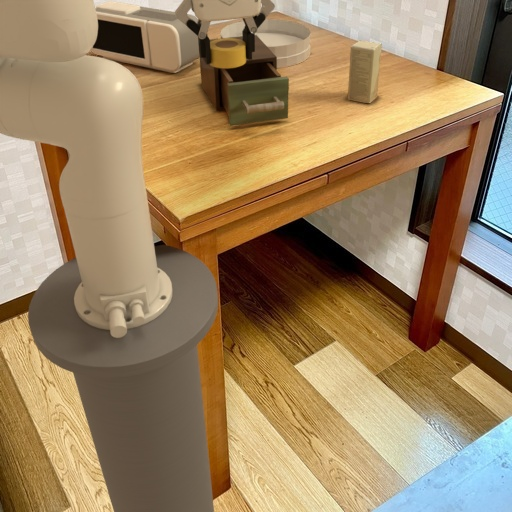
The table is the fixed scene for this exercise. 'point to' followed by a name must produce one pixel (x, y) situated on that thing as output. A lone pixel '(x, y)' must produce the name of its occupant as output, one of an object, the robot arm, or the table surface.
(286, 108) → the drawer
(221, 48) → the tape
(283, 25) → the dish
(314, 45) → the table surface
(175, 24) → the alarm clock
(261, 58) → the cabinet
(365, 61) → the box
